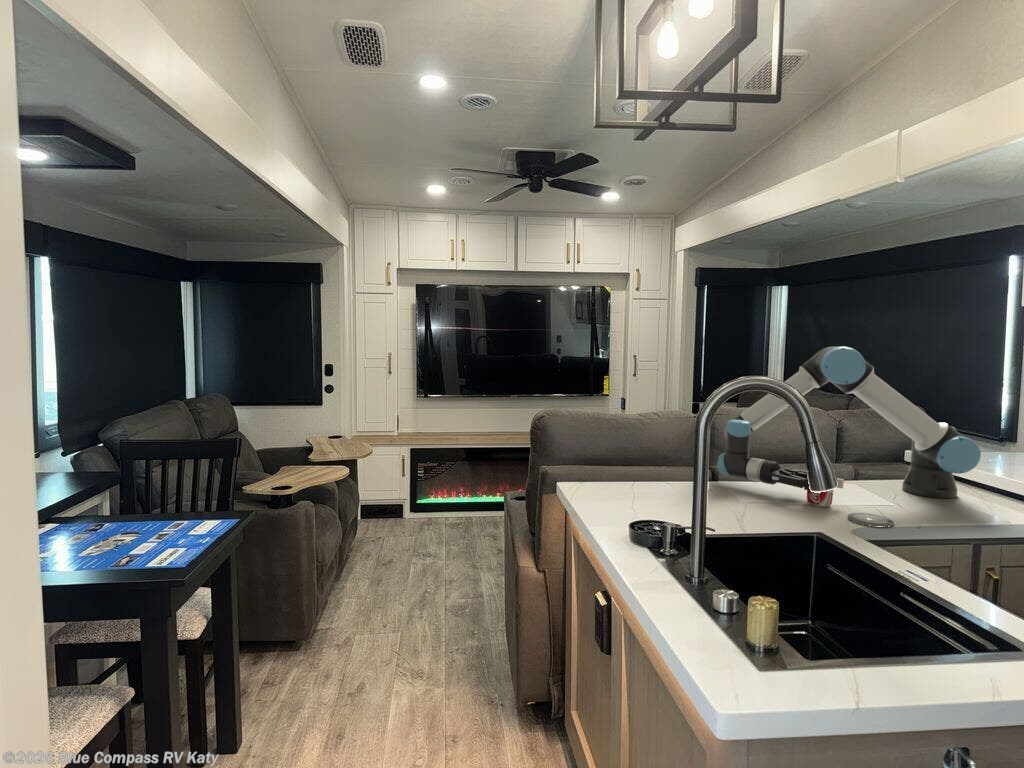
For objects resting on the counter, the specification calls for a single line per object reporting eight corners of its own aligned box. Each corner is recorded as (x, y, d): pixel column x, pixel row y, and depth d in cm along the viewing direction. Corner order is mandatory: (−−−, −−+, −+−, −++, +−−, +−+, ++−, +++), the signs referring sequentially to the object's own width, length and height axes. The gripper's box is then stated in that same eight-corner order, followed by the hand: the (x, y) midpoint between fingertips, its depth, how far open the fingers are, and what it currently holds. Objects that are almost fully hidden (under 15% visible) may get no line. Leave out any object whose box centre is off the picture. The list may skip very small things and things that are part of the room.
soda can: (835, 509, 176) (838, 469, 175) (810, 507, 177) (812, 468, 176) (827, 502, 183) (830, 464, 182) (803, 500, 184) (805, 463, 183)
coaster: (856, 513, 172) (856, 510, 172) (899, 522, 164) (899, 519, 164) (841, 519, 165) (841, 517, 165) (884, 530, 157) (885, 527, 157)
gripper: (777, 478, 200) (850, 492, 182) (747, 486, 187) (822, 503, 170) (779, 456, 199) (851, 469, 182) (749, 463, 187) (824, 478, 169)
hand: (837, 485), depth 176 cm, fingers closed on soda can, 7 cm apart
